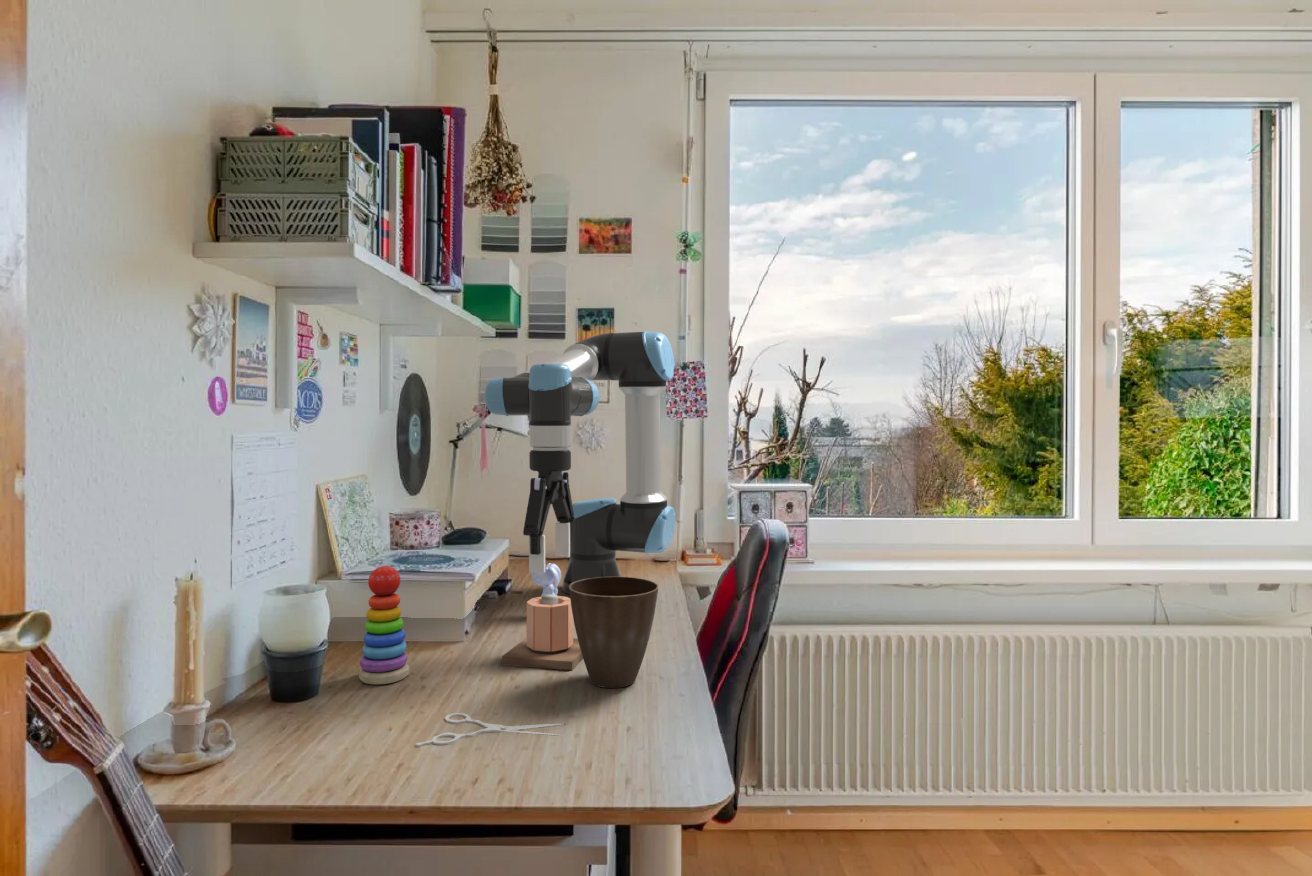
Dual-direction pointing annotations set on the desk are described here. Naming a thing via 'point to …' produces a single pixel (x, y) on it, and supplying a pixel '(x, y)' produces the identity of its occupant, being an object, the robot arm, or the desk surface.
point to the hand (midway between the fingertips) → (550, 564)
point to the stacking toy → (384, 631)
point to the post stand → (544, 659)
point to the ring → (549, 625)
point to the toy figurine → (548, 579)
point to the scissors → (487, 729)
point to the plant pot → (613, 626)
